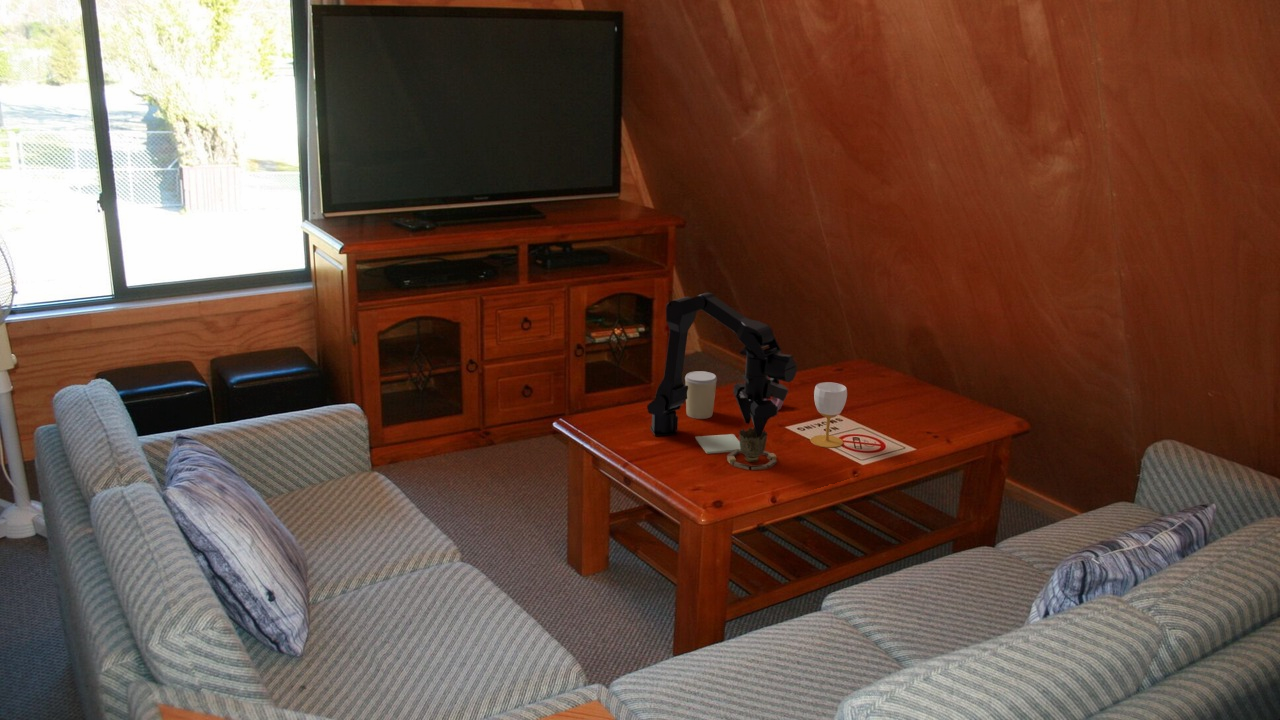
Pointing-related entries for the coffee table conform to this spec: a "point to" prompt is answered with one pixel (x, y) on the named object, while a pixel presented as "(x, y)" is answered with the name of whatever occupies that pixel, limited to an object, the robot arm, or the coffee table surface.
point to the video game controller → (776, 402)
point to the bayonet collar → (732, 461)
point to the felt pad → (718, 443)
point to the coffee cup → (700, 394)
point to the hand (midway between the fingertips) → (753, 429)
